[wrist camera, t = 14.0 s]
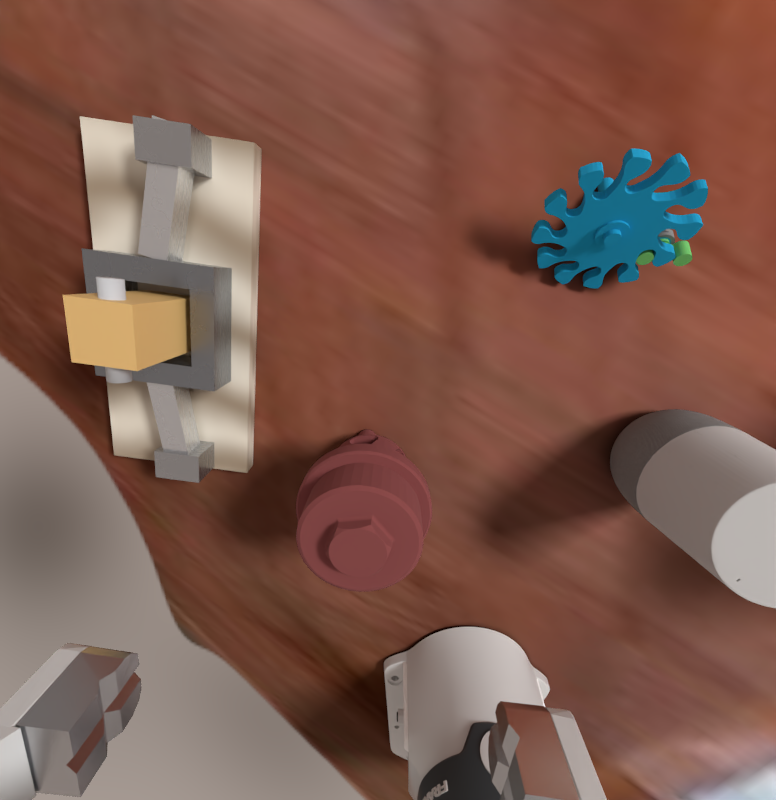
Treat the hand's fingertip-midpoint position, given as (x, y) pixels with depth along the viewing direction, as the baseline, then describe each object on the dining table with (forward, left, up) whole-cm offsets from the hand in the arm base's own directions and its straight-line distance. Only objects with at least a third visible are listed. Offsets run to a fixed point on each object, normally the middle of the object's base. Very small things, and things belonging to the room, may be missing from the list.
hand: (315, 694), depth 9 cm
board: (+3, +17, -26) cm, 31 cm away
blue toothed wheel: (+14, -15, -26) cm, 33 cm away
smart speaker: (-3, -25, -26) cm, 37 cm away
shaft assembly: (+3, +17, -24) cm, 30 cm away
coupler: (+3, +17, -24) cm, 30 cm away
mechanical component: (-8, 0, -26) cm, 27 cm away
